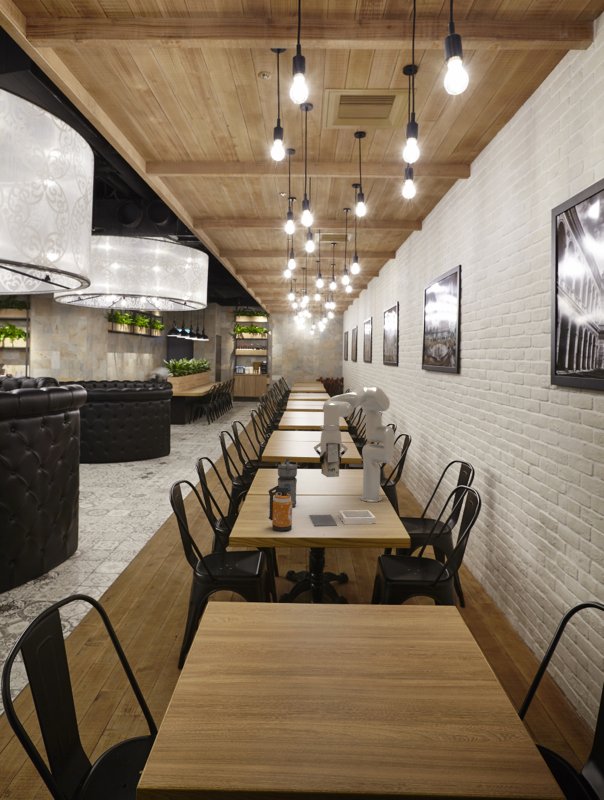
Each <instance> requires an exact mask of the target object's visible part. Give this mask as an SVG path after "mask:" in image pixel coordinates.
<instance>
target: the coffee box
mask: <svg viewBox="0 0 604 800" xmlns="http://www.w3.org/2000/svg"><path fill="white" fill-rule="evenodd" d="M340 453H341V451H340V444H334V443H326V452H324V453H323V464H322V465H321V474H322V475H323V476H325V477H327V478H337V477H338V478H339V477H340V465H339V461H340Z"/></svg>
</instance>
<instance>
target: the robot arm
mask: <svg viewBox="0 0 604 800" xmlns="http://www.w3.org/2000/svg"><path fill="white" fill-rule="evenodd" d="M390 404H391V403H390V398H389V397H388V396H387V394H386V393H385V392H384V391H383V390H382V388H380V387H379V386H374V385H373V386H372V385H360V386H358V387H356V388H355V389H353V390H351V391H349V392H346V393H343V394H338V395H334V396H331V397H330V398H328V399H326V400H325V401H324V404H322V405H323V406H322V411H323V424H322V425H320V429H322V430H321V435H320V442H319V443H317V444H316V445H315V446H314V447H313V449H314V451H315V452H316V454H318V456H319V463H320V464H321V466H322V464H323V453H324V452H326V443H334V444H340V461H339V466H340V464H341V463H342V457H343V455H345V453H346V452H347V451H348V450H349V449H348V447H347V446H346V445H344V444H343V442H342V431H341V430H340V418H346V417H348V416H350V415H351V413H352V412H353V411H352V410H353V409H355V408H358V407H359V406H360V408H361V409H362V410H363V412H364V414H365V418H366V419H365V438H366V440H367V441H369V442H372V443H367V444H365V445H363V447H362V451H361V453H362V462H363V470H362V471H363V472H362V474H363V477H362V494H361V495H360V496H359V499H360V500H361V501H363V502H366V501H367V502H368V503H379V502H381V500H382V501H383V497H382V496H380V492H381V491H380V490H381V467H380V464H379V463H383V464H389V463H391V462H392V461H393V460H394V452H395V451H394V450H395V449H394V448H395V431H394V429H393V428H392V427H391V426H387V425H382V414H381V412H386V411H387V410H388V409H389V408H390V406H391V405H390ZM375 443H376V444H375ZM377 443H381V444H377ZM318 448H319V449H320V450H319V449H318ZM342 448H343V450H342ZM378 501H379V502H378Z"/></svg>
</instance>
